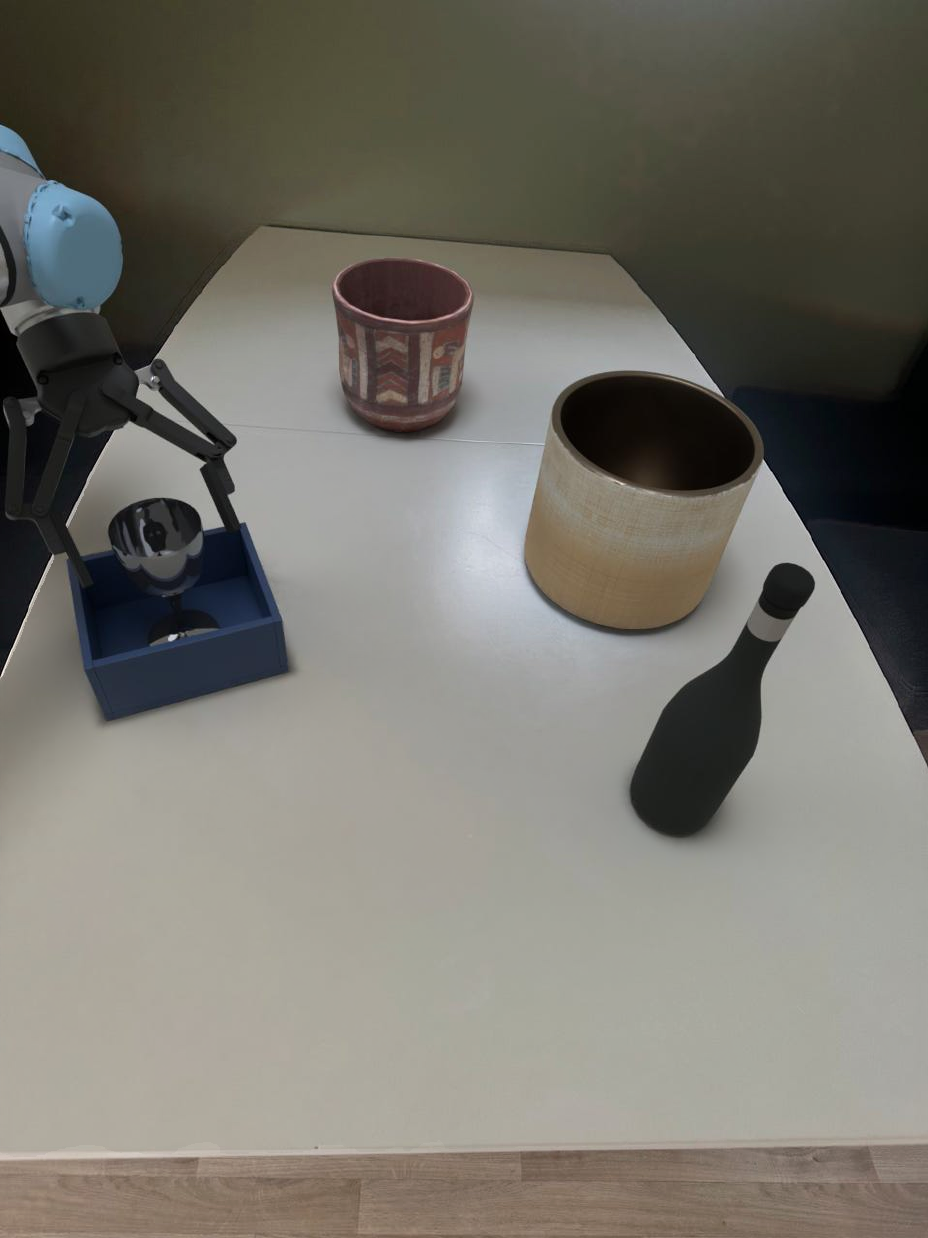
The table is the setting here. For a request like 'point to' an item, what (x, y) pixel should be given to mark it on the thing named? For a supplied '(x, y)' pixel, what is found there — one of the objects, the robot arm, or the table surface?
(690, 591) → the planter
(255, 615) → the bin
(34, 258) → the robot arm
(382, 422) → the pottery
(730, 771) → the wine bottle
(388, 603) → the table surface
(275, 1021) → the table surface
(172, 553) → the wine glass
